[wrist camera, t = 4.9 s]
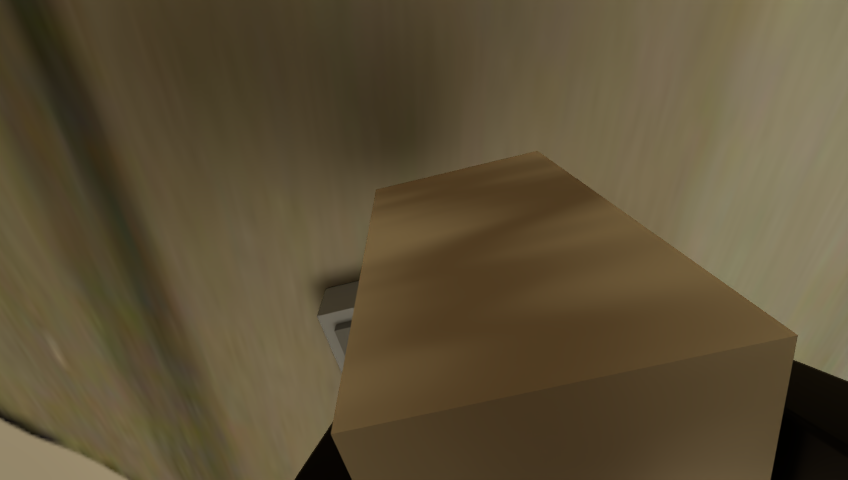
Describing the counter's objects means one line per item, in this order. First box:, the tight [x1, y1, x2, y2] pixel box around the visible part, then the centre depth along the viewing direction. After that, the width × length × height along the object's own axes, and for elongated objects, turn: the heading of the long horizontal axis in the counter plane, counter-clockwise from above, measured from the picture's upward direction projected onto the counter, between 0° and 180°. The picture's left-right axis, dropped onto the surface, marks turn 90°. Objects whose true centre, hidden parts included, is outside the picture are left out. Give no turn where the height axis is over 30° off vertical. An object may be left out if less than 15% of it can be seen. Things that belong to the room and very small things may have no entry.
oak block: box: [331, 151, 798, 480], centre depth 8 cm, size 4×4×8 cm
